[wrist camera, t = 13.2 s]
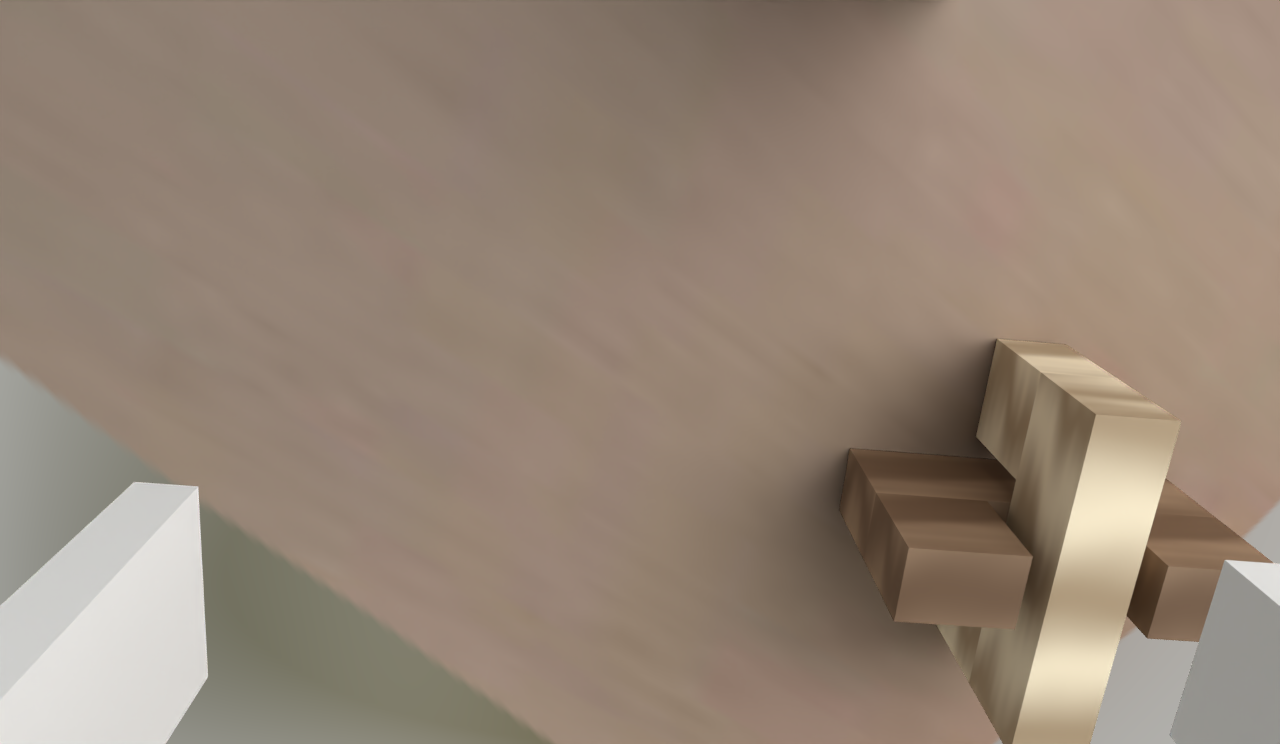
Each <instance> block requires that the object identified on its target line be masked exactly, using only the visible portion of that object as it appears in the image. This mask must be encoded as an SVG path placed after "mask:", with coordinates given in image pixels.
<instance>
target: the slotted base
mask: <svg viewBox="0 0 1280 744" xmlns="http://www.w3.org/2000/svg"><path fill="white" fill-rule="evenodd" d="M1015 482H1016V479H1015V478H1014V477H1013V476H1012V475H1011V474H1010V473H1009V472H1008V470H1007V469H1006V468H1005V467H1004V466H1003V465H1002V464H1001V463H1000V462H999V461H998V460H995V459H982V458H969V457H956V456H943V455H930V454H917V453H904V452H890V451H877V450H864V449H851V448H850V451H849V457H848V462H847V468H846V474H845V480H844V485H843V491H842V497H841V503H840V508H839V510H840V512H841V515H842V517H843V519H844V521H845V523H846V525H847V527H848V529H849V531H850V533H851V535H852V537H853V539H854V541H855V543H856V545H857V547H858V549H859V551H860V553H861V555H862V557H863V559H864V561H865V563H866V565H867V567H868V569H869V572H870V574H871V576H872V578H873V580H874V582H875V584H876V586H877V588H878V590H879V592H880V594H881V596H882V598H883V600H884V602H885V604H886V606H887V608H888V610H889V612H890V614H891V616H892V618H893V620H894V622H908V623H923V624H938V625H953V626H968V627H983V628H999V629H1014V630H1015V627H1016V623H1017V619H1018V615H1019V611H1020V607H1021V603H1022V599H1023V595H1024V591H1025V587H1026V583H1027V579H1028V575H1029V571H1030V566H1031V562H1032V558H1033V556H1032V555H1031V554H1030V553H1029V551H1028V550H1027V549H1026V548H1025V547H1024V545H1023V544H1022V543H1021V542H1020V540H1019V539H1018V538H1017V537H1016V536H1015V534H1014V533H1013V532H1012V531H1011V530H1010V528H1009V527H1008V526H1007V525H1006V521H1007V517H1008V512H1009V508H1010V504H1011V499H1012V495H1013V491H1014V486H1015ZM1225 560H1234V561H1248V562H1262V563H1273V562H1272V561H1270V560H1269V559H1268V558H1267V557H1265V556H1264V555H1263V554H1262V553H1260V552H1259V551H1258V550H1256V549H1255V548H1254V547H1253V546H1251V545H1250V544H1249V543H1247V542H1246V541H1245V540H1244V539H1242V538H1241V537H1240V536H1239V535H1237V534H1236V533H1235V532H1233V531H1232V530H1231V529H1230V528H1228V527H1227V526H1226V525H1225V524H1223V523H1222V522H1221V521H1219V520H1218V519H1217V518H1216V517H1214V516H1213V515H1212V514H1210V513H1209V512H1208V511H1207V510H1205V509H1204V508H1203V507H1202V506H1200V505H1199V504H1198V503H1196V502H1195V501H1194V500H1193V499H1191V498H1190V497H1189V496H1188V495H1186V494H1185V493H1184V492H1182V491H1181V490H1180V489H1179V488H1177V487H1176V486H1175V485H1173V484H1172V483H1171V482H1170V481H1168V480H1167V479H1166V478H1165V481H1164V485H1163V488H1162V492H1161V495H1160V499H1159V502H1158V506H1157V509H1156V513H1155V517H1154V520H1153V524H1152V527H1151V531H1150V534H1149V538H1148V541H1147V545H1146V548H1145V552H1144V555H1143V559H1142V562H1141V566H1140V569H1139V573H1138V576H1137V580H1136V583H1135V587H1134V590H1133V594H1132V597H1131V601H1130V604H1129V608H1128V611H1127V617H1128V618H1129V619H1130V620H1131V621H1132V622H1133V623H1134V624H1135V625H1136V626H1137V628H1138V629H1139V630H1140V631H1141V632H1142V633H1143V634H1144V635H1145V636H1146V637H1147V638H1150V639H1164V640H1179V641H1194V642H1195V641H1196V642H1199V640H1200V637H1201V634H1202V631H1203V627H1204V624H1205V621H1206V618H1207V615H1208V612H1209V608H1210V605H1211V602H1212V599H1213V596H1214V593H1215V589H1216V586H1217V583H1218V580H1219V577H1220V573H1221V570H1222V567H1223V564H1224V561H1225Z"/></svg>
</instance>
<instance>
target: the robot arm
mask: <svg viewBox="0 0 1280 744" xmlns="http://www.w3.org/2000/svg"><path fill="white" fill-rule="evenodd" d="M200 533H201V532H200V514H199V493H198V486H184V485H170V484H156V483H142V482H134V483H133V484H132V485H130V486H129V487H128V488H127V489H126V490H125V491H124V492H123V493H122V494H121V495H120V496H119V497H117V498H116V499H115V500H114V502H112V503H111V504H110V505H109V506H108V507H107V508H106V509H104V510H103V511H102V512H101V513H100V514H99V515H98V516H97V517H96V518H95V519H94V520H93V521H91V522H90V523H89V524H88V525H87V526H86V527H85V528H84V529H83V530H82V531H81V532H80V533H79V534H78V535H76V536H75V537H74V538H73V539H72V540H71V541H70V542H69V543H68V544H67V545H65V546H64V547H63V548H62V549H61V550H60V551H59V552H58V553H57V554H56V555H55V556H54V557H52V558H51V559H50V560H49V561H48V562H47V563H46V564H45V565H44V566H43V567H42V568H41V569H39V571H37V572H36V573H35V574H34V575H33V576H32V577H31V578H30V579H29V580H28V581H26V582H25V583H24V584H23V585H22V586H21V587H20V588H19V589H18V590H17V591H16V592H15V593H14V594H12V595H11V596H10V597H9V598H8V599H7V600H6V601H5V602H4V603H3V604H2V605H1V606H0V744H166V742H167V741H168V739H169V737H170V736H171V734H172V733H173V731H174V730H175V728H176V726H177V725H178V723H179V722H180V720H181V718H182V717H183V715H184V714H185V712H186V711H187V709H188V707H189V706H190V704H191V703H192V701H193V700H194V698H195V696H196V695H197V693H198V692H199V690H200V689H201V687H202V685H203V684H204V682H205V681H206V679H207V678H208V670H207V649H206V630H205V612H204V611H205V610H204V591H203V571H202V554H201V553H202V551H201V534H200ZM1170 736H1171V738H1172V739H1173V740H1174V741H1175V743H1176V744H1280V564H1276V563H1262V562H1248V561H1234V560H1225V561H1224V564H1223V567H1222V570H1221V573H1220V577H1219V580H1218V583H1217V586H1216V589H1215V593H1214V596H1213V599H1212V602H1211V605H1210V608H1209V612H1208V615H1207V618H1206V621H1205V624H1204V627H1203V631H1202V634H1201V637H1200V640H1199V643H1198V647H1197V650H1196V653H1195V656H1194V659H1193V662H1192V665H1191V669H1190V672H1189V675H1188V678H1187V681H1186V685H1185V688H1184V691H1183V694H1182V697H1181V700H1180V704H1179V707H1178V710H1177V713H1176V716H1175V719H1174V723H1173V726H1172V729H1171V732H1170Z"/></svg>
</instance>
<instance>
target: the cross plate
mask: <svg viewBox="0 0 1280 744" xmlns="http://www.w3.org/2000/svg"><path fill="white" fill-rule="evenodd" d="M1181 422H1182V421H1181V420H1179V419H1178V418H1176V417H1175V416H1173V415H1172V414H1170V413H1169V412H1167V411H1165V410H1164V409H1162V408H1161V407H1159V406H1158V405H1156V404H1155V403H1153V402H1152V401H1150V400H1149V399H1147V398H1146V397H1144V396H1143V395H1141V394H1140V393H1138V392H1137V391H1135V390H1134V389H1132V388H1131V387H1129V386H1128V385H1126V384H1125V383H1123V382H1122V381H1120V380H1119V379H1117V378H1116V377H1114V376H1113V375H1111V374H1110V373H1108V372H1107V371H1105V370H1104V369H1102V368H1101V367H1099V366H1097V365H1096V364H1094V363H1093V362H1091V361H1090V360H1088V359H1087V358H1085V357H1084V356H1082V355H1081V354H1079V353H1078V352H1076V351H1075V350H1073V349H1072V348H1070V347H1069V346H1067V345H1066V344H1055V343H1043V342H1030V341H1018V340H1006V339H997V342H996V346H995V351H994V355H993V360H992V365H991V369H990V374H989V379H988V383H987V388H986V393H985V397H984V402H983V407H982V411H981V416H980V421H979V425H978V430H977V434H976V437H977V438H978V439H979V440H980V441H981V443H982V444H983V445H984V446H985V447H986V448H987V449H988V450H989V451H990V452H991V453H992V454H993V455H994V456H995V458H996V459H997V460H998V461H999V462H1000V463H1001V464H1002V465H1003V466H1004V467H1005V468H1006V469H1007V470H1008V472H1009V473H1010V474H1011V475H1012V476H1013V477H1014V478H1015V479H1016V482H1015V486H1014V491H1013V495H1012V499H1011V504H1010V508H1009V512H1008V517H1007V521H1006V525H1007V526H1008V527H1009V528H1010V530H1011V531H1012V532H1013V533H1014V534H1015V536H1016V537H1017V538H1018V539H1019V540H1020V542H1021V543H1022V544H1023V545H1024V547H1025V548H1026V549H1027V550H1028V551H1029V553H1030V554H1031V555H1032V556H1033V558H1032V562H1031V566H1030V571H1029V575H1028V579H1027V583H1026V587H1025V591H1024V595H1023V599H1022V603H1021V607H1020V611H1019V615H1018V619H1017V623H1016V627H1015V630H1014V629H999V628H983V627H968V626H953V625H938V624H936V625H937V627H938V629H939V630H940V632H941V634H942V636H943V637H944V639H945V641H946V643H947V645H948V646H949V648H950V650H951V652H952V653H953V655H954V657H955V659H956V661H957V662H958V664H959V666H960V668H961V670H962V671H963V673H964V675H965V677H966V678H967V680H968V682H969V684H970V686H971V687H972V689H973V691H974V693H975V694H976V696H977V698H978V700H979V702H980V703H981V705H982V707H983V709H984V710H985V712H986V714H987V716H988V718H989V719H990V721H991V723H992V725H993V727H994V728H995V730H996V732H997V734H998V735H999V737H1000V739H1001V741H1002V743H1003V744H1090V741H1091V738H1092V735H1093V731H1094V728H1095V724H1096V720H1097V717H1098V713H1099V710H1100V706H1101V702H1102V699H1103V696H1104V692H1105V689H1106V685H1107V682H1108V678H1109V675H1110V671H1111V668H1112V664H1113V660H1114V657H1115V654H1116V650H1117V646H1118V643H1119V640H1120V636H1121V633H1122V629H1123V626H1124V622H1125V618H1126V615H1127V611H1128V608H1129V604H1130V601H1131V597H1132V594H1133V590H1134V587H1135V583H1136V580H1137V576H1138V573H1139V569H1140V566H1141V562H1142V559H1143V555H1144V552H1145V548H1146V545H1147V541H1148V538H1149V534H1150V531H1151V527H1152V524H1153V520H1154V517H1155V513H1156V509H1157V506H1158V502H1159V499H1160V495H1161V492H1162V488H1163V485H1164V481H1165V478H1166V474H1167V471H1168V467H1169V464H1170V460H1171V457H1172V453H1173V450H1174V446H1175V443H1176V439H1177V436H1178V432H1179V429H1180V425H1181Z"/></svg>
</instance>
